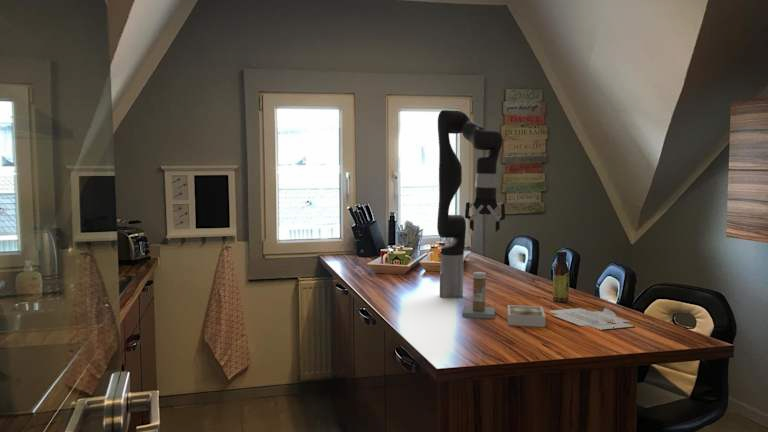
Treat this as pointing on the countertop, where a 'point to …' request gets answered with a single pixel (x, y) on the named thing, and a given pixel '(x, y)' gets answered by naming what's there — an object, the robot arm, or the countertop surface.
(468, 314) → the ceramic tile
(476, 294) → the sprinkles bottle
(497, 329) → the countertop surface
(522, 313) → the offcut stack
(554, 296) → the sauce bottle
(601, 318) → the white cloth
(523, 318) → the shallow white open box
